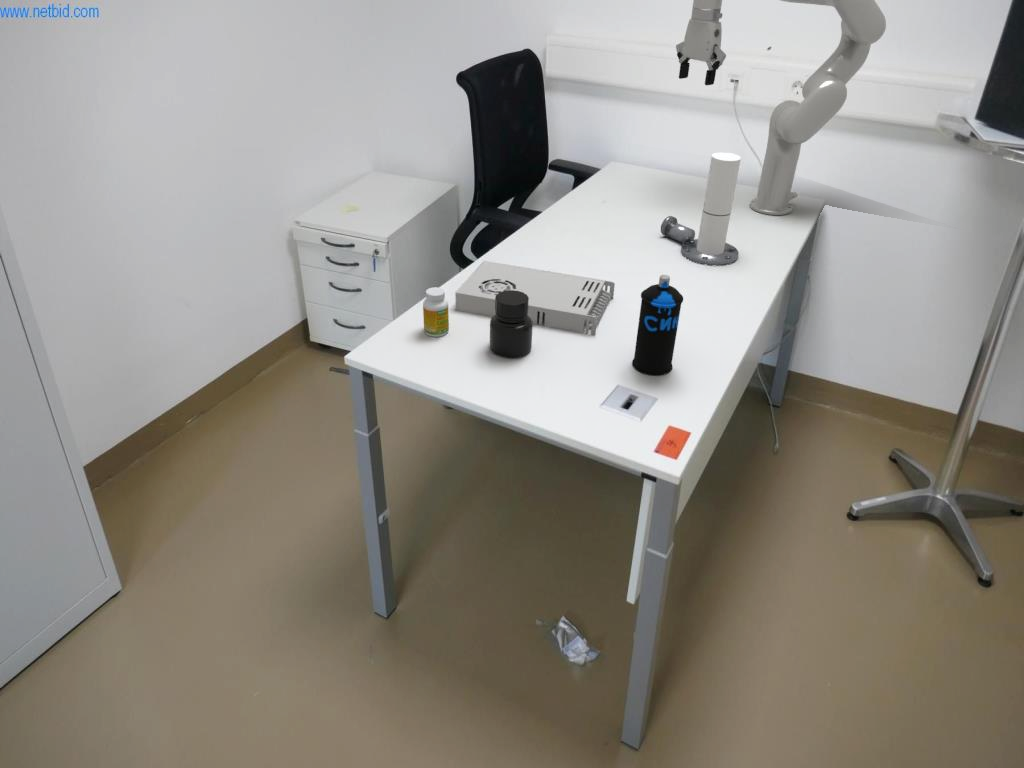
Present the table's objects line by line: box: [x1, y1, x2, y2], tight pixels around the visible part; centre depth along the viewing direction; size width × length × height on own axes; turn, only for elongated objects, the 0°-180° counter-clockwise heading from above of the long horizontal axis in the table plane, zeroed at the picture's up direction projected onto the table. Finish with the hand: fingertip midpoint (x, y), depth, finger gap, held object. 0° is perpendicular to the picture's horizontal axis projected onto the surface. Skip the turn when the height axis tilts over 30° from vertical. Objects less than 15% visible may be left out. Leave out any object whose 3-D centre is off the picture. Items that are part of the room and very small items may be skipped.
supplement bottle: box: [422, 286, 450, 338], centre depth 169 cm, size 5×5×10 cm
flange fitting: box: [660, 215, 739, 266], centre depth 212 cm, size 23×15×6 cm, turn 37°
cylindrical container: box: [697, 152, 742, 255], centre depth 203 cm, size 7×7×25 cm
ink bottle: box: [489, 290, 533, 359], centre depth 163 cm, size 10×9×12 cm
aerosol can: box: [631, 274, 684, 376], centre depth 156 cm, size 8×8×20 cm
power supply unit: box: [455, 260, 616, 335], centre depth 182 cm, size 19×33×5 cm, turn 72°
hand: (695, 81), depth 222 cm, fingers open, 9 cm apart
